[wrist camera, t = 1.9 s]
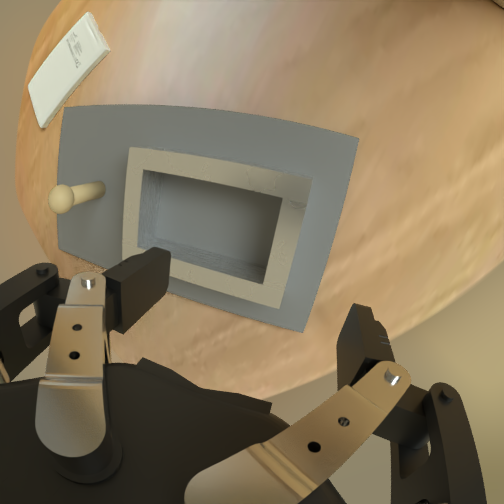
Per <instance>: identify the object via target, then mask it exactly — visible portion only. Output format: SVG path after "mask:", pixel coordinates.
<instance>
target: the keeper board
mask: <svg viewBox="0 0 504 504" xmlns="http://www.w3.org/2000/svg"><path fill="white" fill-rule="evenodd" d="M358 142H359V138H356V137H353V136H349V135H345V134H342V133H338V132H334V131H330V130H326V129H322V128H318V127H314V126H310V125H305V124H301V123H296V122H291V121H286V120H281V119H276V118H271V117H265V116H259V115H253V114H246V113H239V112H232V111H224V110H216V109H206V108H195V107H183V106H166V105H92V106H76V107H64V113H63V120H62V128H61V136H60V146H59V158H58V174H57V186H55V187H54V188H53V189H52V190H51V191H50V193H49V196H48V204H49V207H50V208H51V210H52V211H53V212H55V213H57V229H58V246H59V249H60V250H63V251H65V252H67V253H70V254H72V255H74V256H77V257H79V258H81V259H84V260H86V261H89V262H91V263H93V264H96V265H98V266H101V267H103V268H106V269H110V268H112V267H113V266H115V265H118V263H120V262H122V261H124V260H122V239H123V213H124V197H125V185H126V174H127V164H128V156H129V148H130V147H145V146H152V147H160V148H168V149H175V150H182V151H189V152H196V153H202V154H208V155H214V156H220V157H225V158H231V159H236V160H241V161H246V162H251V163H256V164H261V165H266V166H270V167H275V168H279V169H284V170H288V171H292V172H296V173H301V174H305V175H309V176H313V177H314V178H313V182H312V186H311V190H310V195H309V199H308V203H307V207H306V211H305V215H304V219H303V223H302V227H301V231H300V235H299V239H298V243H297V247H296V250H295V254H294V258H293V262H292V265H291V269H290V273H289V276H288V280H287V284H286V287H285V291H284V294H283V298H282V301H281V305H280V308H279V309H277V308H273V307H270V306H266V305H263V304H259V303H256V302H252V301H249V300H245V299H242V298H239V297H235V296H232V295H229V294H225V293H222V292H219V291H215V290H212V289H209V288H206V287H203V286H199V285H196V284H193V283H190V282H187V281H184V280H181V279H178V278H175V277H172V276H169V285H168V289H167V292H170V293H173V294H176V295H179V296H182V297H185V298H187V299H190V300H193V301H196V302H199V303H203V304H206V305H209V306H212V307H215V308H218V309H221V310H224V311H228V312H231V313H234V314H237V315H241V316H244V317H247V318H251V319H254V320H258V321H261V322H264V323H268V324H272V325H275V326H279V327H282V328H286V329H290V330H293V331H297V332H301V333H303V331H304V329H305V326H306V323H307V320H308V317H309V315H310V312H311V309H312V306H313V303H314V300H315V297H316V294H317V291H318V288H319V285H320V282H321V279H322V276H323V273H324V270H325V266H326V263H327V260H328V257H329V253H330V250H331V247H332V243H333V240H334V236H335V233H336V229H337V226H338V222H339V219H340V215H341V211H342V208H343V204H344V200H345V196H346V192H347V189H348V185H349V181H350V176H351V172H352V168H353V164H354V160H355V155H356V151H357V146H358ZM282 200H283V198H281V197H277V196H273V195H269V194H264V193H260V192H256V191H251V190H247V189H243V188H238V187H233V186H229V185H224V184H219V183H215V182H210V181H205V180H200V179H194V178H189V177H184V176H179V175H173V174H168V173H163V179H162V187H161V196H160V206H159V216H158V227H157V237H161V238H164V239H168V240H171V241H175V242H178V243H182V244H185V245H189V246H192V247H196V248H199V249H203V250H206V251H210V252H214V253H217V254H221V255H224V256H228V257H232V258H235V259H239V260H242V261H246V262H250V263H253V264H257V265H261V266H264V267H267V265H268V261H269V257H270V252H271V248H272V244H273V239H274V235H275V231H276V226H277V222H278V217H279V213H280V209H281V204H282Z"/></svg>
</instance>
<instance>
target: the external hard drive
mask: <svg viewBox="0 0 504 504" xmlns="http://www.w3.org/2000/svg"><path fill="white" fill-rule="evenodd" d="M109 52H110V49H109V47H108V45H107V43H106V41H105V39H104V37H103V35H102V34H101V33H100V32H99V29H98V25H97V23H96V21H95V19H94V17H93V15H92V13H90V12H86V13H85V14H84V15H83V16H82V17H81V18H80V20H79V21H78V22H77V23H76V24H75V25H74V26H73V27H72V28H71V29H70V30H69V32H68V33H67V34H66V35H65V36H64V37H63V39H62V40H61V41H60V42H59V43H58V45H57V46H56V47H55V48H54V50H53V51H52V52H51V53H50V55H49V56H48V57H47V59H46V60H45V61H44V63H43V64H42V65H41V67H40V68H39V70H38V71H37V72H36V74H35V75H34V77H33V78H32V80H31V81H30V83H29V84H28V89H29V93H30V97H31V100H32V104H33V107H34V111H35V114H36V117H37V121H38V124H39V126H40V127H41V128H46V127H47V126H48V125H49V123H50V122H51V120H52V119H53V118H54V116H55V115H56V113H57V112H58V111H59V109H60V108H61V107H62V105H63V104H64V103H65V102H66V100H67V99H68V98H69V96H70V95H71V94H72V93H73V92H74V90H75V89H76V88H77V87H78V86H79V84H80V83H81V82H82V81H83V80H84V79H85V78H86V76H87V75H88V74H89V73H90V72H91V71H92V70H93V69H94V68H95V67H96V66H97V64H98V63H99V62H100V61H101V60H102V59H103V58H104V57H105V56H106V55H107V54H108V53H109Z"/></svg>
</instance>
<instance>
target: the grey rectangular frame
mask: <svg viewBox="0 0 504 504" xmlns="http://www.w3.org/2000/svg"><path fill="white" fill-rule="evenodd" d="M163 173H168V174H173V175H179V176H184V177H189V178H194V179H200V180H205V181H210V182H215V183H219V184H224V185H229V186H233V187H238V188H243V189H247V190H251V191H256V192H260V193H264V194H269V195H273V196H277V197H281V198H283V200H282V204H281V209H280V213H279V217H278V222H277V226H276V231H275V235H274V239H273V244H272V248H271V252H270V257H269V261H268V265H267V267H264V266H261V265H257V264H253V263H250V262H246V261H242V260H239V259H235V258H232V257H228V256H224V255H221V254H217V253H214V252H210V251H206V250H203V249H199V248H196V247H192V246H189V245H185V244H182V243H178V242H175V241H171V240H168V239H164V238H161V237H157V227H158V216H159V206H160V196H161V187H162V179H163ZM313 178H314V177H313V176H309V175H305V174H301V173H296V172H292V171H288V170H284V169H279V168H275V167H270V166H266V165H261V164H256V163H251V162H246V161H241V160H236V159H231V158H225V157H220V156H214V155H208V154H202V153H196V152H189V151H182V150H175V149H168V148H160V147H152V146H145V147H130V148H129V156H128V164H127V174H126V185H125V197H124V213H123V239H122V260H125V259H127V258H128V257H130V256H133V255H137V254H141V253H143V252H145V251H147V250H149V249H150V248H152V247H154V246H155V247H158V248H161V249H165V250H168V251H170V253H171V263H170V275H169V276H172V277H175V278H178V279H181V280H184V281H187V282H190V283H193V284H196V285H199V286H203V287H206V288H209V289H212V290H215V291H219V292H222V293H225V294H229V295H232V296H235V297H239V298H242V299H245V300H249V301H252V302H256V303H259V304H263V305H266V306H270V307H273V308H277V309H279V308H280V305H281V301H282V298H283V294H284V291H285V287H286V284H287V280H288V276H289V273H290V269H291V265H292V262H293V258H294V254H295V250H296V247H297V243H298V239H299V235H300V231H301V227H302V223H303V219H304V215H305V211H306V207H307V203H308V199H309V195H310V190H311V186H312V182H313Z"/></svg>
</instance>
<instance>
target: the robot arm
mask: <svg viewBox="0 0 504 504" xmlns="http://www.w3.org/2000/svg"><path fill="white" fill-rule="evenodd" d="M493 1H494V2H496V3H497V4H498V5H499V6H501V7H502V8H504V0H493ZM170 263H171V253H170V251H168V250H165V249H161V248H158V247H155V246H154V247H152V248H150V249H149V250H147V251H145V252H143V253H141V254H137V255H133V256H130V257H128V258H127V259H125V260H124V261H122V262H120V263H118V265H115V266H113V267H112V268H110V269H108V270H107V271H105V272H103V273H102V274H100V273H97V272H82V273H78V274H76V275H75V276H74V277H73V278H72V279H71V280H69V279H64V278H59V275H58V268H57V266H56V265H54V264H51V263H39V264H35V265H33V266H31V267H29V268H28V269H26V270H24V271H22V272H21V273H19V274H17V275H15V276H14V277H12V278H10V279H9V280H7V281H5V282H4V283H2V284H1V285H0V504H346V503H345V501H344V500H343V498H342V497H341V495H340V494H339V493H338V491H337V490H336V489H335V487H334V486H333V484H332V483H331V482H330V480H329V479H328V478H329V477H330V476H331V475H332V474H333V473H334V472H335V471H336V470H338V469H339V467H341V466H342V465H343V464H344V463H345V462H346V461H347V460H348V459H349V458H350V457H351V456H352V455H353V454H354V452H355V451H356V450H357V449H358V448H359V447H360V446H361V445H362V444H363V443H364V442H365V441H366V440H367V439H368V438H369V436H370V435H371V434H374V435H377V436H379V437H382V438H384V439H387V440H389V441H390V446H391V504H487V501H486V495H485V488H484V482H483V477H482V472H481V467H480V463H479V459H478V454H477V450H476V446H475V442H474V438H473V435H472V431H471V428H470V424H469V421H468V418H467V415H466V412H465V409H464V406H463V402H462V400H461V397H460V395H459V394H458V392H457V391H456V390H455V389H454V388H453V387H451V386H450V385H448V384H446V383H441V382H439V383H435V384H433V385H432V387H431V388H430V390H429V391H426V390H423V389H421V388H419V387H416V386H414V385H412V384H411V377H410V375H409V373H408V372H407V370H406V369H405V368H403V367H402V366H401V365H399V364H397V363H395V359H394V356H393V352H392V349H391V346H390V342H389V339H388V336H387V332H386V329H385V328H384V327H383V326H382V324H381V323H380V322H379V321H375V320H374V316H373V313H372V309H371V307H367V306H363V305H359V304H355V303H354V304H353V305H352V307H351V309H350V311H349V313H348V316H347V318H346V321H345V323H344V325H343V328H342V330H341V332H340V334H339V337H338V341H337V377H338V378H337V379H338V380H337V382H338V392H336V393H335V394H334V395H333V396H331V397H330V398H329V399H327V400H326V401H325V402H324V403H322V404H321V405H320V406H318V407H317V408H315V409H314V410H313V411H311V412H310V413H309V414H307V415H306V416H304V417H303V418H302V419H300V420H299V421H297V422H296V423H294V424H293V425H291V426H290V425H289V424H287V423H286V422H285V421H283V420H282V419H280V418H279V417H277V416H276V415H274V414H272V413H270V410H271V406H272V403H271V402H266V401H263V400H259V399H256V398H252V397H249V396H246V395H242V394H239V393H231V392H223V391H216V390H209V389H203V388H200V387H198V386H196V385H195V384H193V383H192V382H190V381H188V380H187V379H185V378H184V377H182V376H181V375H179V374H178V373H176V372H174V371H173V370H171V369H169V368H167V367H164V366H162V365H159V364H157V363H155V362H152V361H150V360H148V359H146V358H142V359H141V360H140V361H139V362H138V363H137V365H134V364H128V363H112V361H111V342H110V331H112V330H115V331H117V332H119V333H121V334H124V333H125V332H126V331H127V330H128V329H129V328H130V327H131V326H132V325H134V324H135V323H136V322H137V321H138V320H139V319H140V318H141V317H142V316H143V315H144V314H145V313H146V312H147V311H148V310H149V309H150V308H151V307H152V306H153V305H155V304H156V303H157V302H158V301H159V300H160V299H161V298H162V297H163V296H164V295H165V293H166V291H167V289H168V285H169V275H170ZM32 303H33V304H34V309H35V313H36V316H35V317H33V318H32V319H31V320H29V321H28V322H27V323H25V324H24V325H23V326H22V327H20V325H19V315H20V313H21V311H22V310H23V309H25V308H26V307H27V306H29V305H30V304H32ZM49 345H50V346H49ZM48 346H49V353H48V358H47V365H46V371H45V376H44V377H39V378H34V379H28V380H22V381H16V382H11V381H12V380H13V379H14V378H15V377H16V376H17V375H18V374H19V373H20V372H21V371H22V370H23V369H24V368H25V367H26V366H28V365H29V364H30V363H31V362H32V361H33V360H34V359H35V358H36V357H37V356H38V355H39V354H40V353H41V352H43V351H44V350H45V349H46V348H47V347H48ZM429 441H430V444H431V453H430V456H429V452H428V446H427V443H428V442H429Z"/></svg>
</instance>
